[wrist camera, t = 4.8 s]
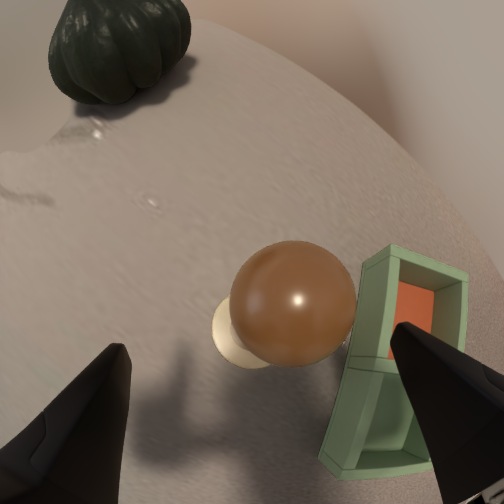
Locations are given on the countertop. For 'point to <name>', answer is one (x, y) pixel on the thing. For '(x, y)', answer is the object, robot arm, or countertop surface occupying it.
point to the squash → (116, 47)
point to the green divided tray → (390, 364)
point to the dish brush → (285, 308)
